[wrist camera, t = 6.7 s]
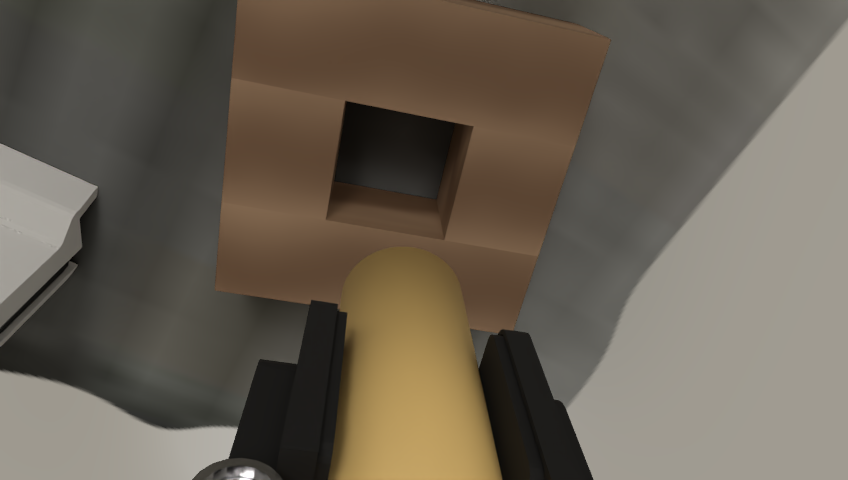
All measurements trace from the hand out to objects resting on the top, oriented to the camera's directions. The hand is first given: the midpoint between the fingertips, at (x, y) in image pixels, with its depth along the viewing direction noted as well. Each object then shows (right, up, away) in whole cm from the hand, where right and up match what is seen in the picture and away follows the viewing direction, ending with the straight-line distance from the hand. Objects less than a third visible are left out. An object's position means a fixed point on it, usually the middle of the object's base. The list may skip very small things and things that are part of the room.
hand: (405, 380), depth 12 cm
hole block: (-1, +7, +13) cm, 15 cm away
